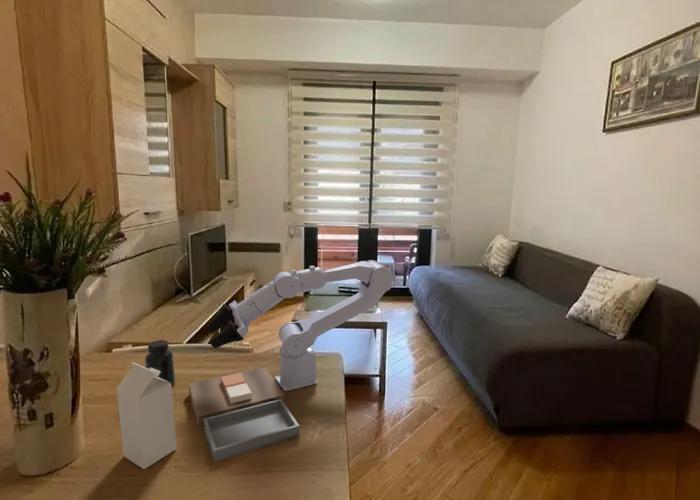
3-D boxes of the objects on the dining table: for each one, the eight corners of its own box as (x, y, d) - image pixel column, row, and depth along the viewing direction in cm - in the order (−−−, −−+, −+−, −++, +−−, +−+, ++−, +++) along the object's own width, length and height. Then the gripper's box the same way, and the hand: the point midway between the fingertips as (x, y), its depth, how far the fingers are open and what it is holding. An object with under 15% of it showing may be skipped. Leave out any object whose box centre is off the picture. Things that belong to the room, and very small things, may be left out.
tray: (281, 408, 101) (281, 398, 100) (299, 436, 90) (299, 425, 90) (204, 428, 92) (203, 418, 92) (214, 462, 82) (213, 451, 81)
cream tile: (246, 388, 104) (246, 383, 103) (251, 398, 99) (251, 392, 99) (226, 393, 101) (225, 387, 101) (230, 403, 97) (230, 397, 97)
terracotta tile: (240, 377, 109) (240, 372, 109) (245, 386, 104) (245, 381, 104) (221, 382, 107) (220, 376, 106) (225, 391, 102) (225, 385, 102)
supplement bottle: (180, 383, 111) (177, 341, 109) (157, 395, 106) (153, 351, 103) (165, 376, 115) (162, 336, 113) (141, 387, 109) (137, 344, 107)
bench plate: (265, 377, 115) (265, 367, 115) (284, 405, 102) (284, 394, 101) (189, 394, 106) (188, 383, 106) (199, 428, 92) (198, 416, 92)
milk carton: (144, 470, 79) (135, 379, 76) (123, 456, 83) (114, 369, 79) (176, 449, 85) (170, 364, 82) (155, 437, 89) (148, 355, 85)
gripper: (242, 282, 110) (198, 312, 108) (252, 307, 98) (203, 342, 96) (256, 300, 114) (214, 330, 112) (268, 327, 101) (221, 360, 99)
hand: (210, 337), depth 104 cm, fingers open, 7 cm apart
